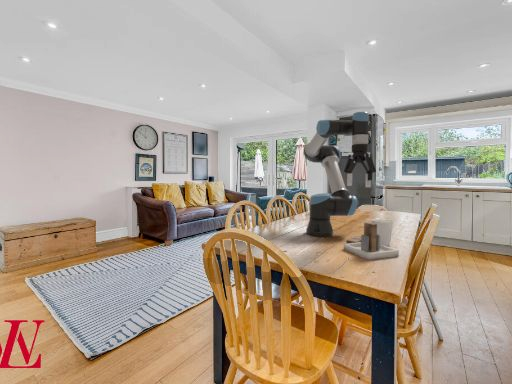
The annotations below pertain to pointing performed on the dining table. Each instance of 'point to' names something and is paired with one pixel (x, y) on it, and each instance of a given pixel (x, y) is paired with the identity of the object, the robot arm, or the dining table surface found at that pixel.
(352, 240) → the wick
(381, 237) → the candle holder
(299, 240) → the dining table surface
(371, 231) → the brown rectangular block
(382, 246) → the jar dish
